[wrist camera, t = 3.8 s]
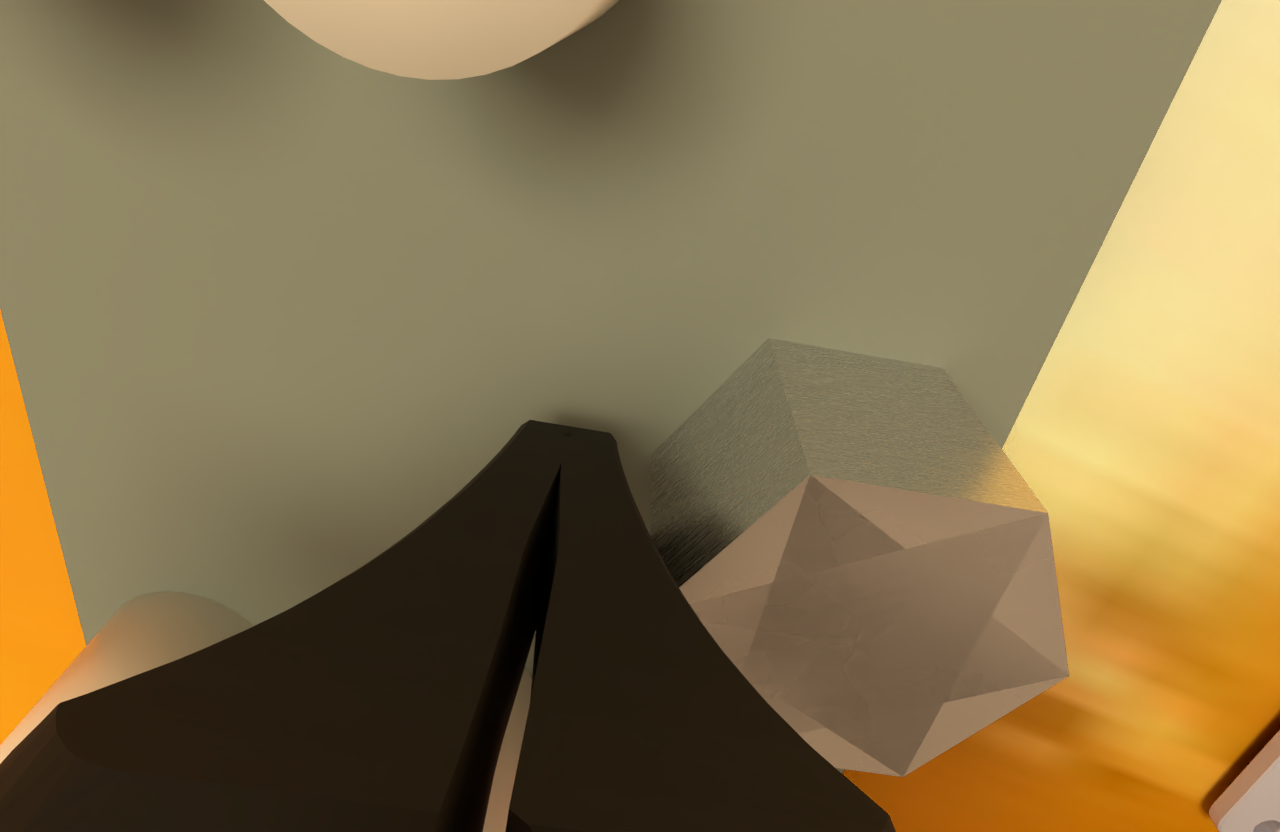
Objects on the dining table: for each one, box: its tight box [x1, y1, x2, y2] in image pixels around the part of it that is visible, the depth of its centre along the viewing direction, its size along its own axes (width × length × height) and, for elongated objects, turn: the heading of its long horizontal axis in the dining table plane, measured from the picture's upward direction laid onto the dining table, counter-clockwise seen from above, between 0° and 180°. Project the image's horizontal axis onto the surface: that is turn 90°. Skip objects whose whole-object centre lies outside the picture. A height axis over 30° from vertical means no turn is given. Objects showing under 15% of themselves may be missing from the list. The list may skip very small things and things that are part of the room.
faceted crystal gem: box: [650, 338, 1069, 777], centre depth 11 cm, size 5×4×4 cm
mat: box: [0, 0, 1221, 774], centre depth 12 cm, size 15×16×1 cm
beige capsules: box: [0, 0, 619, 832], centre depth 9 cm, size 8×16×4 cm, turn 170°
